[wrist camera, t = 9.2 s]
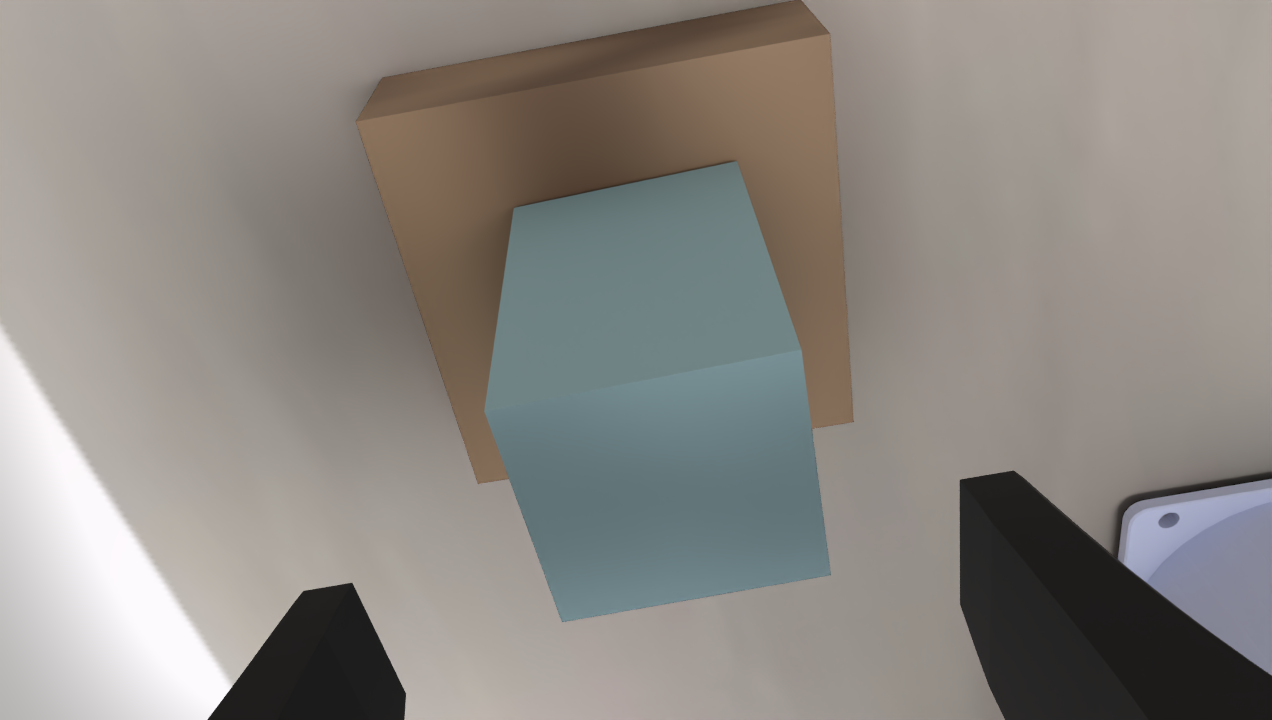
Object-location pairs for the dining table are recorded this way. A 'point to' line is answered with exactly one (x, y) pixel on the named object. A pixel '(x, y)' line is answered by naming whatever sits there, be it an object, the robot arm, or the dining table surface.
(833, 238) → the walnut base block
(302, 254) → the dining table surface
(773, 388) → the teal block
